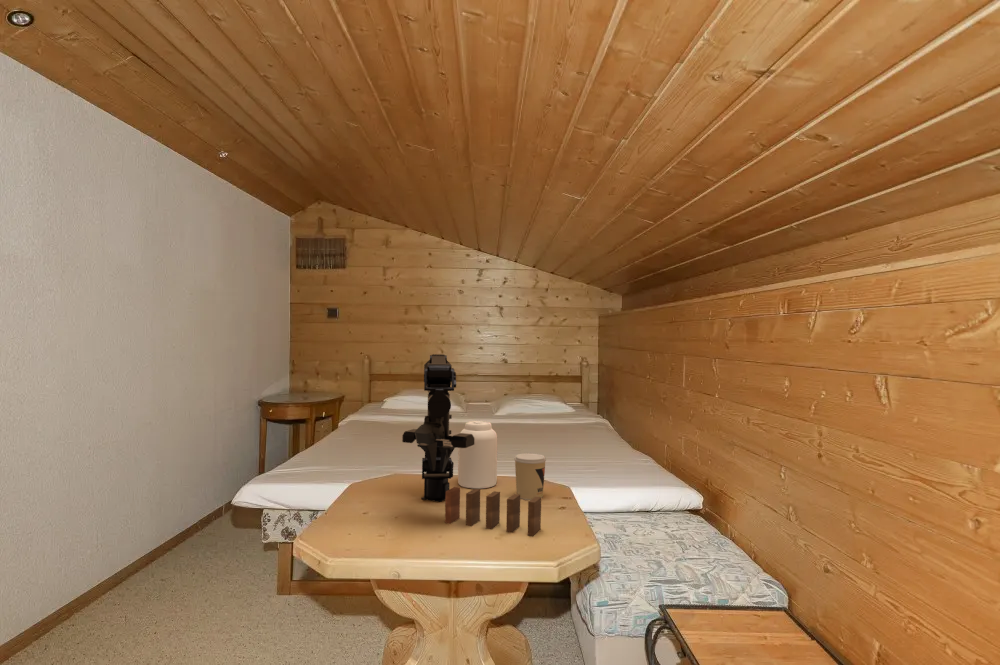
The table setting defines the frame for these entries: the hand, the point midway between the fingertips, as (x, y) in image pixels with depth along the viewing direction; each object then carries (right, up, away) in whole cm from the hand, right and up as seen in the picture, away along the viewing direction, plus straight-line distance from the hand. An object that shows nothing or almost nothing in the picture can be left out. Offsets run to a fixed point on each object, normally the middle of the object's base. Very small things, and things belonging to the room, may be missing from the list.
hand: (437, 471), depth 149 cm
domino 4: (+20, -12, -8) cm, 25 cm away
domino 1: (+4, -12, -3) cm, 13 cm away
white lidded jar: (+9, -13, +34) cm, 37 cm away
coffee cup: (+25, -13, +21) cm, 35 cm away
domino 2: (+9, -12, -4) cm, 16 cm away
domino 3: (+15, -12, -6) cm, 20 cm away
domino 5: (+25, -12, -10) cm, 29 cm away
